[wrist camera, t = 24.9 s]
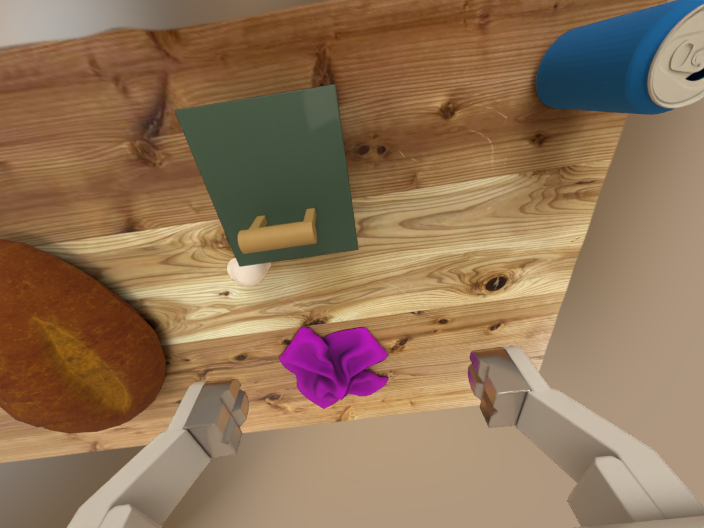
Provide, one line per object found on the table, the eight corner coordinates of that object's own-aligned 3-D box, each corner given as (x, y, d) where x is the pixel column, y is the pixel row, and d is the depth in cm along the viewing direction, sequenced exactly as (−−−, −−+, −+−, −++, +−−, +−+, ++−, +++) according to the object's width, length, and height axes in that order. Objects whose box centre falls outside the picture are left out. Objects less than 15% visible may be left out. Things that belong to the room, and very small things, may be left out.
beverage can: (577, 111, 29) (705, 120, 19) (520, 104, 29) (621, 109, 19) (613, 33, 26) (792, -6, 16) (549, 23, 25) (693, -24, 15)
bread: (107, 223, 33) (1, 283, 23) (202, 391, 50) (166, 469, 40) (-72, 237, 33) (-265, 304, 22) (84, 401, 50) (17, 483, 39)
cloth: (270, 327, 43) (262, 359, 38) (390, 318, 43) (397, 348, 38) (294, 410, 55) (289, 443, 49) (387, 402, 55) (393, 434, 50)
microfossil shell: (281, 256, 37) (273, 280, 32) (253, 278, 38) (242, 303, 34) (254, 232, 35) (242, 254, 30) (227, 256, 36) (211, 280, 32)
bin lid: (357, 245, 25) (363, 280, 20) (241, 262, 25) (221, 300, 20) (335, 84, 18) (335, 81, 14) (179, 109, 19) (129, 114, 14)
